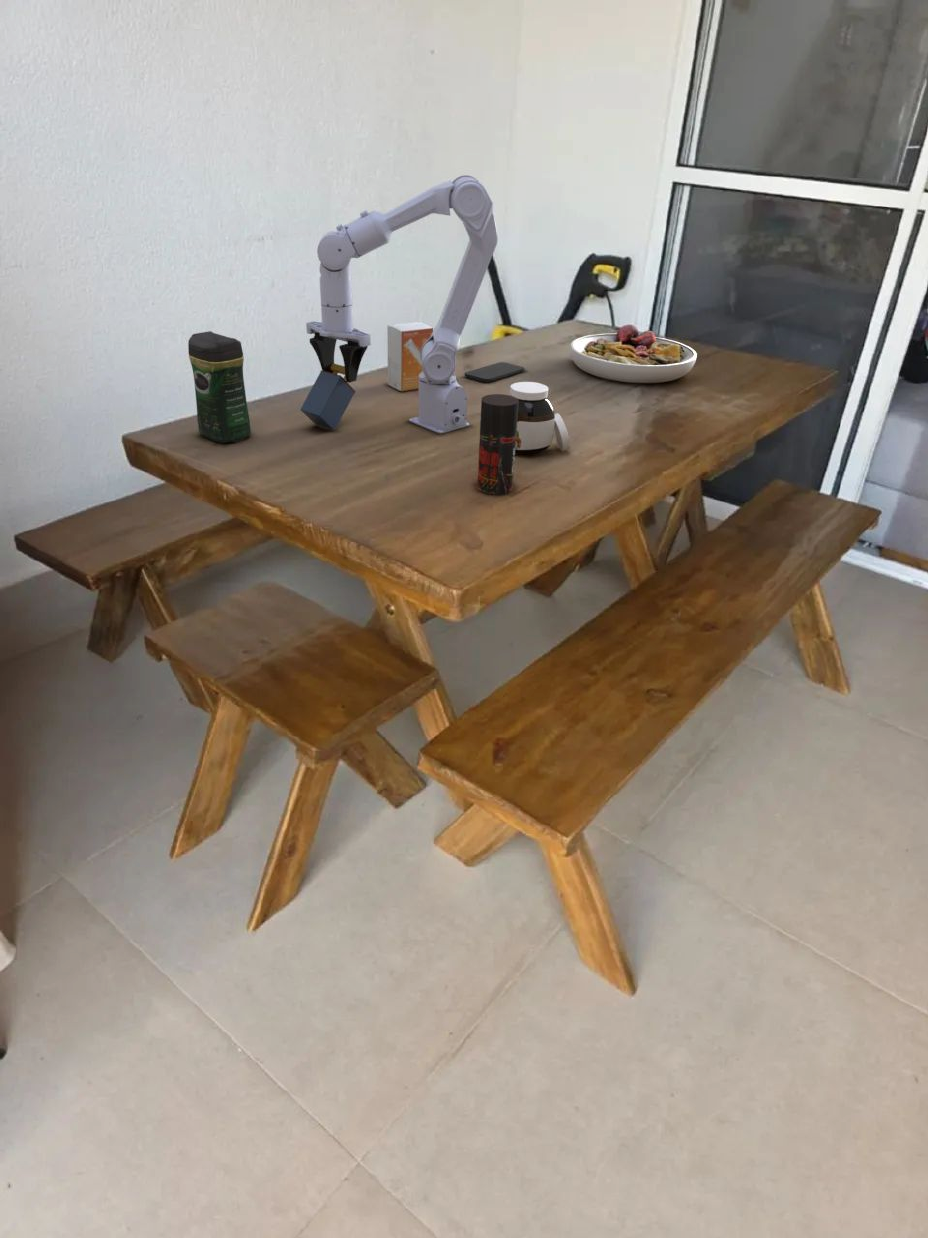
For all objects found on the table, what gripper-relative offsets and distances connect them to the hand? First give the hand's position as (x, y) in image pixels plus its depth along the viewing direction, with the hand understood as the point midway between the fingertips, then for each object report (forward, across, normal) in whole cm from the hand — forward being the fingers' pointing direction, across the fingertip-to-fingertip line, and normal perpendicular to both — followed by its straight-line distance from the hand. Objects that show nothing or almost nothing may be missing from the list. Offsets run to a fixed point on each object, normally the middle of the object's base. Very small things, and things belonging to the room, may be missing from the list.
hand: (339, 377), depth 163 cm
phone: (+9, +3, +49) cm, 50 cm away
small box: (+9, -6, +28) cm, 30 cm away
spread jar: (+9, +37, +13) cm, 40 cm away
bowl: (+9, +25, +75) cm, 80 cm away
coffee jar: (+9, -11, -20) cm, 24 cm away
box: (+4, 0, 0) cm, 5 cm away
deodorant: (+9, +41, -7) cm, 43 cm away
